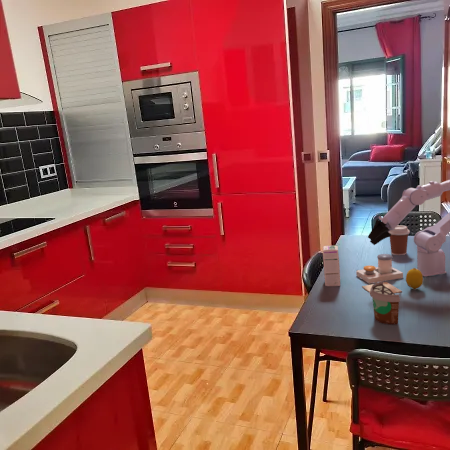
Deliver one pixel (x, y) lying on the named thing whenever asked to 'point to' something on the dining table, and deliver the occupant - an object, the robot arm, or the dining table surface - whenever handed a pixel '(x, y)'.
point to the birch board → (386, 284)
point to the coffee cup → (399, 240)
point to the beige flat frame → (379, 275)
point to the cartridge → (384, 263)
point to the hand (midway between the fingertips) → (371, 241)
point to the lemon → (414, 278)
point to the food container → (385, 304)
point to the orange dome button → (369, 270)
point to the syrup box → (331, 265)
